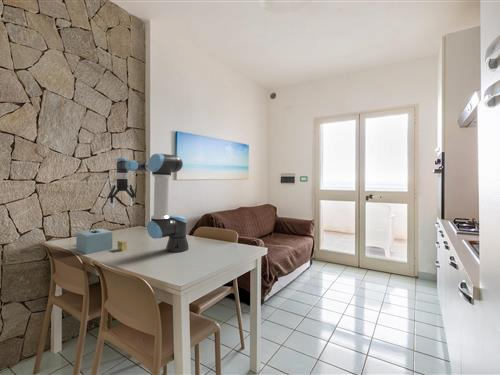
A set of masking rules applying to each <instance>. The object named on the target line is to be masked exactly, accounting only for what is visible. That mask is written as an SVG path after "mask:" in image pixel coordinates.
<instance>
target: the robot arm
mask: <svg viewBox="0 0 500 375" xmlns="http://www.w3.org/2000/svg"><path fill="white" fill-rule="evenodd" d="M128 159H129V158H127V157H124V158H123V157H118V158H116V184H112V185H111V186H112V187H111V189H110V191H109V193H108V195H107V198H108V199H110V204H111V208H114V209H115V202H116V201H115V197H116V196H117V195H118V194H119V192H126V194H128V196H129V207H133V202H134V199H135V197H137V195H136V193H135V190H134V189H133V186H132V184H129V181H128V180H129V179H128V178H129V174H128V173H129V172H150V173H151V175H152V177H154V184H153V186H154V188H153V189H154V191H153V194H154V195H153V215H152V216H151V218H150V220H149V221H148V222H147V224H146V230H147V233H148V235H149V237H151V238H152V239H155V240H157V239H163V238H167V237H168V241H167V242H166V243H167V244H166V245H165V251H166V250H167V251H166V252H169V251H171V252H170V253H181V252H180V251H182V252H186V251H188V250H189V249H190V248H189V246H190V245H189V242H188V239H187V218H186V217H185V216H179V215H169V214H168V213H169V181H170V180H169V178H170V177H172V173H178V172H179V171H181V170H182V169H183V166H184V165H183V160H182V159H181V157H180V156H179V155H175V154H167V153H153V154H152V155H151V156H150V158H149V159H148V160H147V161H143V160H133V159H129V160H128ZM185 250H186V251H185Z"/></svg>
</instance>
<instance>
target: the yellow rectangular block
mask: <svg viewBox="0 0 500 375" xmlns="http://www.w3.org/2000/svg"><path fill="white" fill-rule="evenodd" d="M117 250H118V251H120V252H125V251H127V241H126V240H123V239H121V240H117Z"/></svg>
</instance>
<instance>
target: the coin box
mask: <svg viewBox="0 0 500 375" xmlns="http://www.w3.org/2000/svg"><path fill="white" fill-rule="evenodd" d="M105 229H106V228H95V229H88V230H81V231H76V234H75V235H76V237H75V238H76V244H75V245H76V248H75V249H76V251H79V252H81V253H83V254H85V255H89V254H90V255H91V254H94V253H99V252H103V251H104V252H105V251H109V250H113V231H111V230H108V229H106V230H105Z"/></svg>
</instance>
